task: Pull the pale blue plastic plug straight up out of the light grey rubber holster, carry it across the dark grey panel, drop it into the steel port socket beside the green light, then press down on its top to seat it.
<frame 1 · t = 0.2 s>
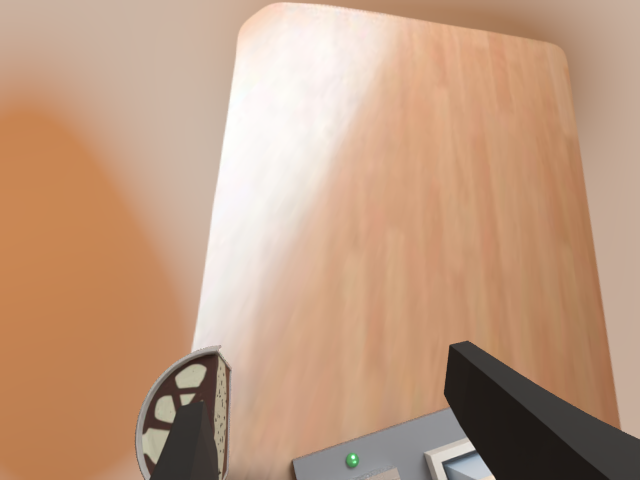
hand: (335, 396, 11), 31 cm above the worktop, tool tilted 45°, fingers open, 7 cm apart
food container: (198, 419, 39), on the worktop
holster: (463, 472, 39), resting on panel
plug: (468, 474, 38), point 1 cm above the worktop, touching panel
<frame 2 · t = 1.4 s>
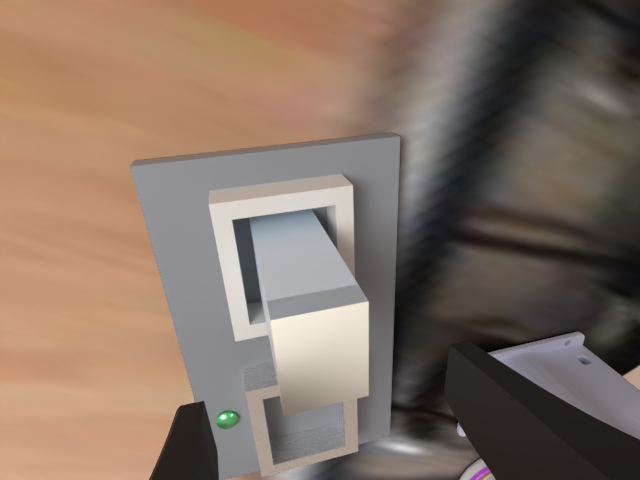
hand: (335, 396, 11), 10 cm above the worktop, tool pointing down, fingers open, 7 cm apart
holster: (281, 241, 20), resting on panel
plug: (284, 250, 19), point 1 cm above the worktop, touching panel
port: (298, 388, 25), resting on panel
panel: (291, 325, 23), on the worktop
supplement bottle: (486, 471, 35), on the worktop
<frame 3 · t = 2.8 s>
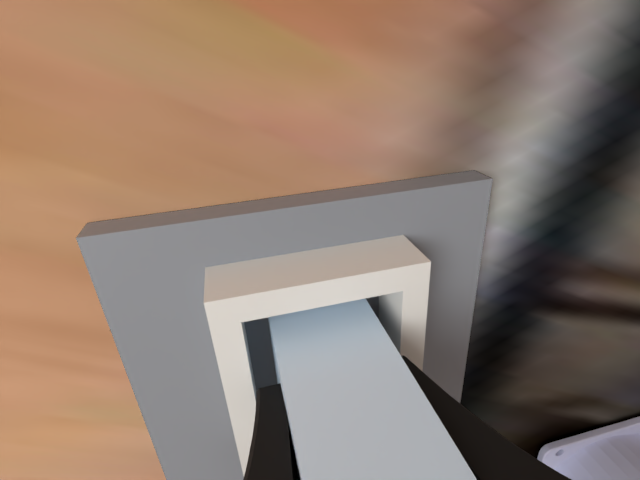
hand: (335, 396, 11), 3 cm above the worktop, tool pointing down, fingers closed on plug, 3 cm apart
holster: (310, 324, 14), resting on panel
plug: (316, 342, 13), point 1 cm above the worktop, touching gripper, panel
panel: (318, 427, 17), on the worktop
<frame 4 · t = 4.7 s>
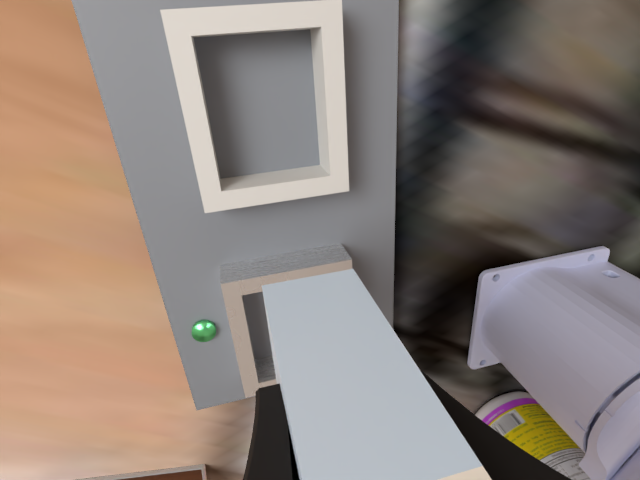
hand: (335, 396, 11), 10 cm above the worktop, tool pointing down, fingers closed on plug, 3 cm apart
holster: (260, 104, 17), resting on panel
plug: (313, 326, 13), point 8 cm above the worktop, touching gripper
port: (286, 300, 22), resting on panel
panel: (275, 219, 20), on the worktop
supplement bottle: (498, 415, 32), on the worktop
when the fingers open (4 cm above the worktop, at t = 6.7 s): plug stays where it is, resting on panel.
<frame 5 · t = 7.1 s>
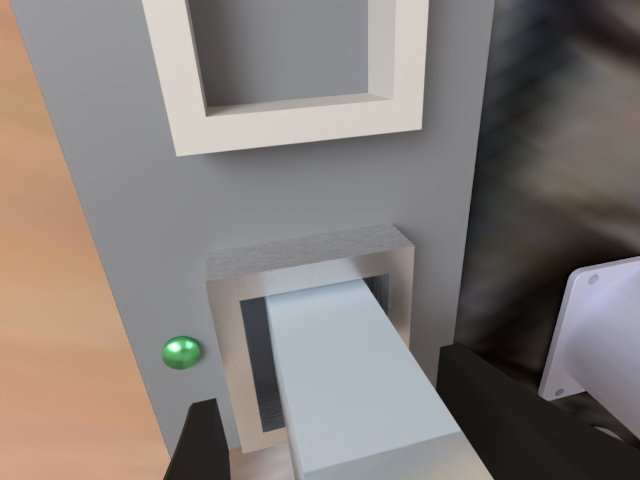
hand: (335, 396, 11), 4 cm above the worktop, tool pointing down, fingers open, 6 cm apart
plug: (309, 312, 14), point 1 cm above the worktop, touching panel
port: (304, 308, 15), resting on panel
panel: (293, 184, 13), on the worktop
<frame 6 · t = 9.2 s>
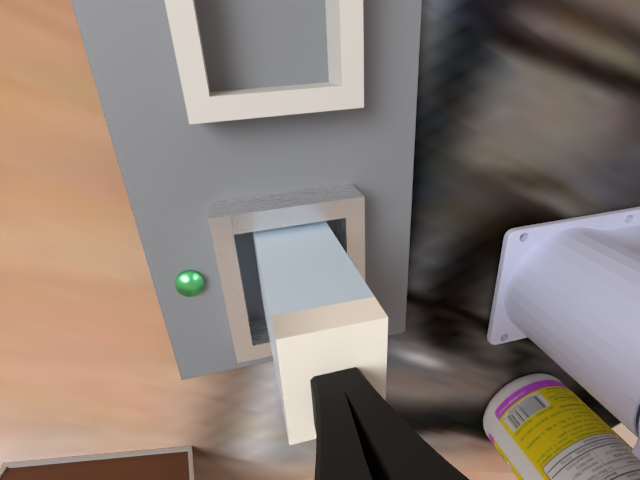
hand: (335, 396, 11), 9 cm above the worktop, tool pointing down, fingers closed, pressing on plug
holster: (259, 5, 14), resting on panel
plug: (289, 255, 18), point 1 cm above the worktop, touching gripper, panel
port: (286, 254, 19), resting on panel
panel: (275, 153, 17), on the worktop
supplement bottle: (517, 400, 29), on the worktop
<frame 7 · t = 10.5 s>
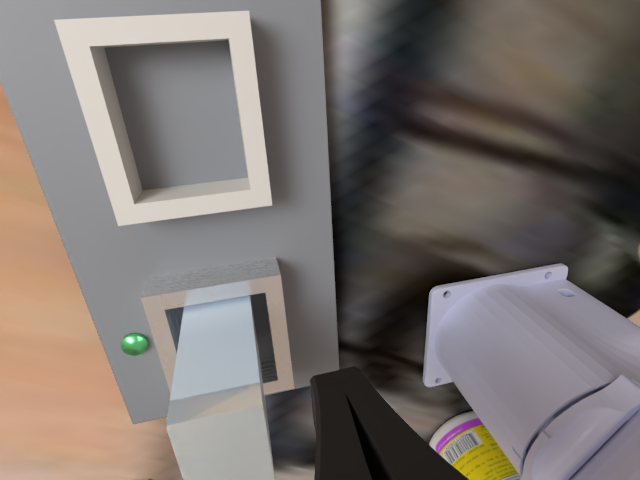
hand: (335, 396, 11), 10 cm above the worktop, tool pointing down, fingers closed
holster: (185, 115, 17), resting on panel
plug: (224, 317, 20), point 1 cm above the worktop, touching panel
port: (225, 314, 21), resting on panel
panel: (208, 231, 19), on the worktop
supplement bottle: (461, 434, 31), on the worktop
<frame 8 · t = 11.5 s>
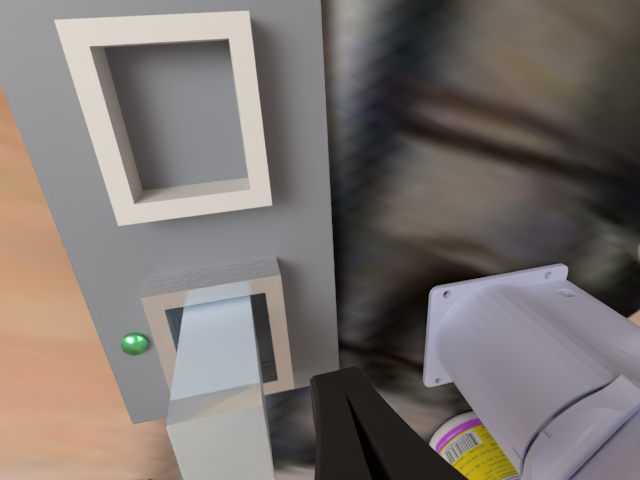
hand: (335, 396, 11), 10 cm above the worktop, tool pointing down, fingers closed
holster: (185, 115, 17), resting on panel
plug: (224, 317, 20), point 1 cm above the worktop, touching panel
port: (225, 314, 21), resting on panel
panel: (208, 231, 19), on the worktop
supplement bottle: (461, 434, 31), on the worktop
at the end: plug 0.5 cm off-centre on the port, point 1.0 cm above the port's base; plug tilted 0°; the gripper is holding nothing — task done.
